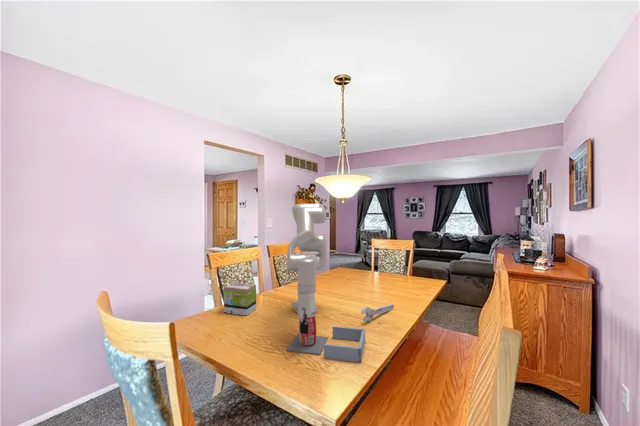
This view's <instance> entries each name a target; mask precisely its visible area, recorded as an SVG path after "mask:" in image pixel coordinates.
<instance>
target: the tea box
mask: <svg viewBox="0 0 640 426" xmlns="http://www.w3.org/2000/svg"><path fill="white" fill-rule="evenodd" d="M254 310H255V311H256V310H257V285H256V284H253V283H252V284H250V283H242V282H232V283H231V284H228V285H226V286H224V287H223V312H226V313H225V314H231V313H232V315H238V314H239V316H240V315H241V316H244V315H248V314H249V315H251V314H252V313H253V312H255V311H254ZM251 312H252V313H251ZM249 315H248V316H249Z"/></svg>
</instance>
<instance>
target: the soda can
mask: <svg viewBox="0 0 640 426" xmlns="http://www.w3.org/2000/svg"><path fill="white" fill-rule="evenodd" d="M314 314H315V313H312V315H311V316H310V317H309V318H308V321H307V324H308V334H302V333H300V318H299V322H298V323H299V325H298V326H299V333H298V334H299V336H300V343H302V344H303V345H306V346H310V345H312V344H314V343H315V342H316V336H317V318H316V316H314ZM304 316H307V315H304ZM304 320H306V318H304Z"/></svg>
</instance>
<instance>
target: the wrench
mask: <svg viewBox="0 0 640 426" xmlns="http://www.w3.org/2000/svg"><path fill="white" fill-rule="evenodd" d="M394 307H395V305H394V304H391V303H389V304H385V305H382V306H379V307H376V308H370V307H369V306H363V307H362V309H361V311H360V314H362V315H365V316H364V317H363V318H362V321H363V322H366V323H371V322H372V320H373V318H374V317H375V316H378V315H381V314H383V313H387V312H390V311H393V310H394Z"/></svg>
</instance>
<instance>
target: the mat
mask: <svg viewBox="0 0 640 426" xmlns="http://www.w3.org/2000/svg"><path fill="white" fill-rule="evenodd" d="M328 340H329V337H328V336H321V335H316V342H315V343H314V344H312V345H310V346H306V345H303V344H302V343H300V336H299V333H297V334H296V335H295V337H294V338H293V340H292V341H291V342H290V344H289V345H288V346H287V348H286V349H285V351H286V352H291V353H300V354H309V355H315V356H316V355H317V356H321V354H322V352H323V351H324V344H327V341H328Z"/></svg>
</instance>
